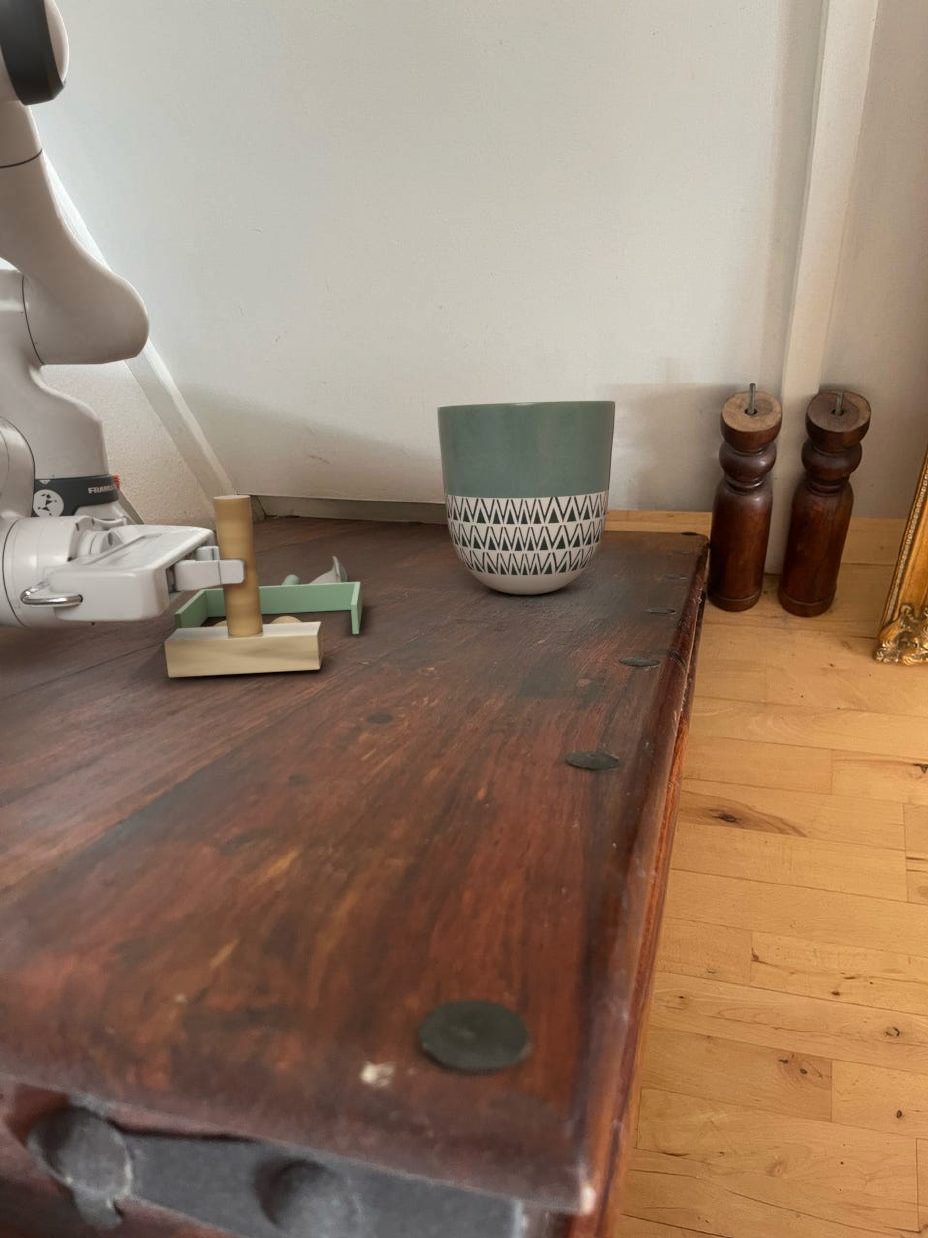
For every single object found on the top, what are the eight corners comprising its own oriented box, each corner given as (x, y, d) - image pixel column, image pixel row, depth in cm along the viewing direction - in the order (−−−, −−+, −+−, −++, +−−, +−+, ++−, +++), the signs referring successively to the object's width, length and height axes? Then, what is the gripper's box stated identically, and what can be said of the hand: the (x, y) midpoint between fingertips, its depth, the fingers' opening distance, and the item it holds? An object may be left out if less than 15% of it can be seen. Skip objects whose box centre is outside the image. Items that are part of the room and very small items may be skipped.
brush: (181, 662, 64) (160, 496, 60) (323, 654, 65) (311, 491, 61) (168, 677, 60) (144, 502, 56) (319, 669, 61) (306, 496, 57)
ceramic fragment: (350, 600, 86) (347, 567, 85) (304, 604, 85) (301, 570, 84) (343, 578, 100) (342, 550, 99) (304, 581, 99) (302, 552, 98)
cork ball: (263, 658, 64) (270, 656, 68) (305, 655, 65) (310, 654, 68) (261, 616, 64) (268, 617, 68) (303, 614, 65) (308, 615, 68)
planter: (609, 574, 97) (613, 402, 91) (612, 612, 78) (617, 398, 72) (459, 573, 100) (454, 407, 95) (427, 609, 81) (419, 405, 76)
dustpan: (221, 597, 90) (218, 573, 89) (364, 590, 92) (362, 566, 91) (177, 644, 71) (173, 613, 70) (358, 634, 73) (356, 604, 72)
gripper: (-3, 556, 48) (217, 547, 49) (110, 516, 68) (265, 510, 69) (15, 649, 50) (228, 639, 51) (120, 584, 69) (271, 577, 71)
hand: (250, 564), depth 60 cm, fingers closed on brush, 3 cm apart
